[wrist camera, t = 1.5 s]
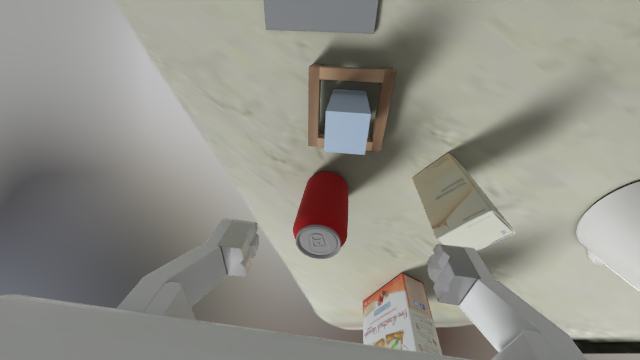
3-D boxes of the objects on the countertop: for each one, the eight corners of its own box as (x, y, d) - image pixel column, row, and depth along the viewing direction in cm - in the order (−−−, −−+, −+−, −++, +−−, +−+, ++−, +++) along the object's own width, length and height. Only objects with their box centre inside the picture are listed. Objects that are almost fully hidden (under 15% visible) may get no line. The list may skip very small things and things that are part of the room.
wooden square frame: (392, 68, 27) (396, 71, 24) (378, 142, 32) (380, 151, 29) (312, 64, 27) (308, 66, 25) (311, 137, 33) (308, 145, 30)
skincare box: (448, 151, 31) (494, 207, 21) (467, 171, 32) (519, 233, 22) (410, 178, 34) (434, 239, 24) (428, 196, 35) (459, 260, 25)
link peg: (365, 90, 28) (371, 113, 20) (361, 122, 31) (364, 155, 22) (333, 88, 29) (325, 110, 20) (331, 120, 31) (323, 151, 22)
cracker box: (400, 270, 45) (429, 418, 28) (424, 282, 46) (467, 432, 29) (360, 301, 53) (363, 433, 35) (381, 310, 54) (395, 444, 36)
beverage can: (311, 205, 39) (297, 263, 29) (302, 171, 36) (282, 224, 26) (351, 201, 38) (350, 262, 28) (345, 166, 34) (342, 220, 24)
